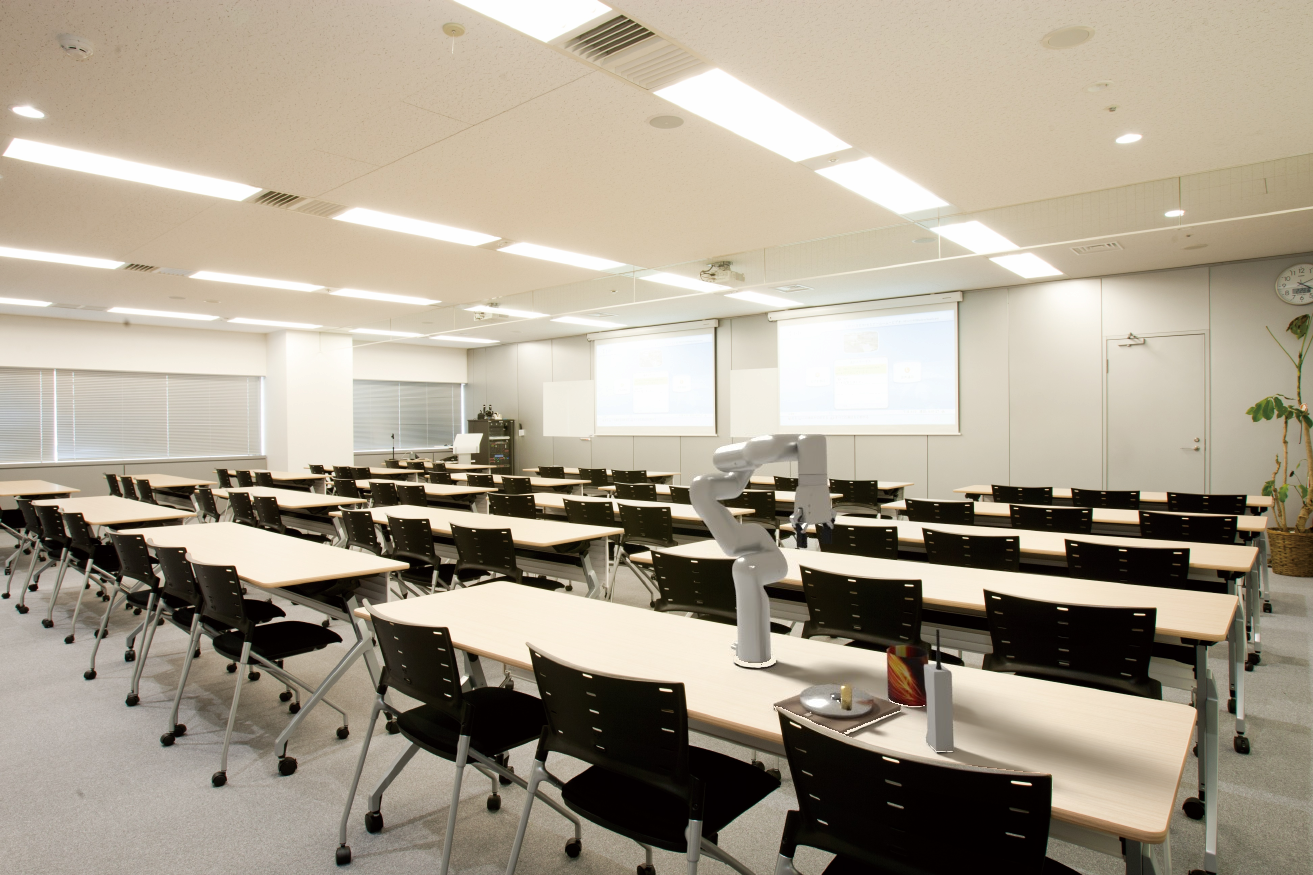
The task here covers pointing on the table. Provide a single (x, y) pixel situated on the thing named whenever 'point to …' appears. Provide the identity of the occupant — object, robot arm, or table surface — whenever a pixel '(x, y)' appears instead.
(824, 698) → the dial
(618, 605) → the table surface
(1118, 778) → the table surface
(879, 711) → the base board
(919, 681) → the mug
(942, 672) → the vintage mobile phone
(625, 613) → the table surface
